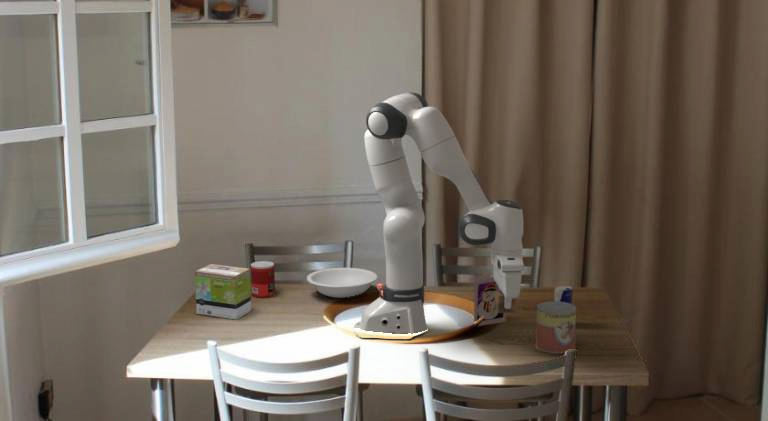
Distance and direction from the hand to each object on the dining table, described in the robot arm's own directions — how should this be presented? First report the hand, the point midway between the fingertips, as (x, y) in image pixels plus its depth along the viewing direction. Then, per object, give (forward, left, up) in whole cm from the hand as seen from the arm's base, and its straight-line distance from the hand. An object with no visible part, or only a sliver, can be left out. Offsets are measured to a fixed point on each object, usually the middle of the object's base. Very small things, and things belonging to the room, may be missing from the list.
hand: (505, 304), depth 294 cm
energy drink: (+22, +20, -14) cm, 33 cm away
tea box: (-83, +43, -14) cm, 94 cm away
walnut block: (0, 0, -2) cm, 2 cm away
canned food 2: (+15, +1, -14) cm, 20 cm away
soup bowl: (-44, +59, -14) cm, 75 cm away
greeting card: (-1, +26, -14) cm, 29 cm away
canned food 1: (-71, +62, -14) cm, 95 cm away
